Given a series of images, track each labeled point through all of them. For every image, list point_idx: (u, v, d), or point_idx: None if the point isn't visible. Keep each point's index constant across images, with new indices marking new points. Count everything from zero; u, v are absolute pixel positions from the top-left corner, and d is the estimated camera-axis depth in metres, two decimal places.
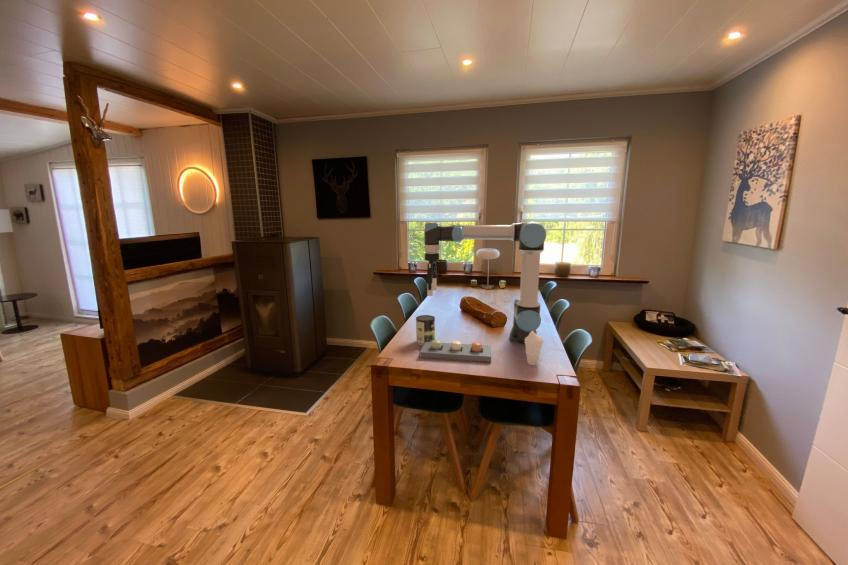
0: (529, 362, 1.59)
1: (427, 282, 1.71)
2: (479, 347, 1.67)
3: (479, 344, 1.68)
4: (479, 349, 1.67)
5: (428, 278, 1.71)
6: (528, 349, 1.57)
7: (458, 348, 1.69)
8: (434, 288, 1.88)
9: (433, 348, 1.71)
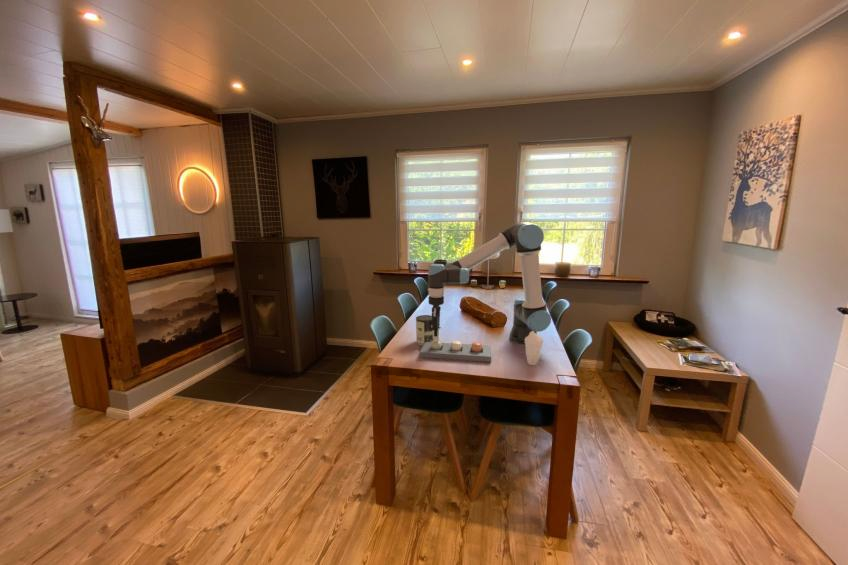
0: (529, 362, 1.59)
1: (433, 329, 1.67)
2: (479, 347, 1.67)
3: (479, 344, 1.68)
4: (479, 349, 1.67)
5: (434, 326, 1.67)
6: (528, 349, 1.57)
7: (458, 348, 1.69)
8: None
9: (433, 348, 1.71)
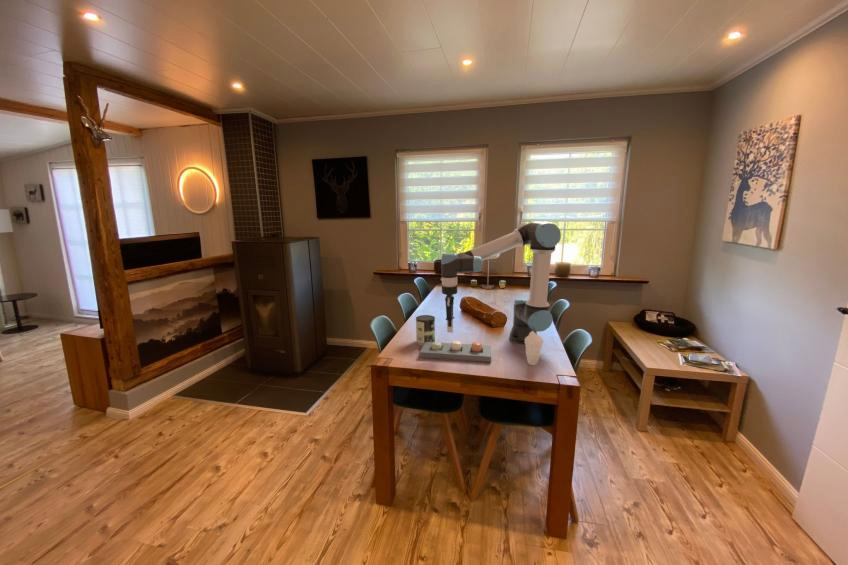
0: (529, 362, 1.59)
1: (447, 319, 1.65)
2: (479, 347, 1.67)
3: (479, 344, 1.68)
4: (479, 349, 1.67)
5: (448, 316, 1.65)
6: (528, 349, 1.57)
7: (458, 348, 1.69)
8: None
9: None
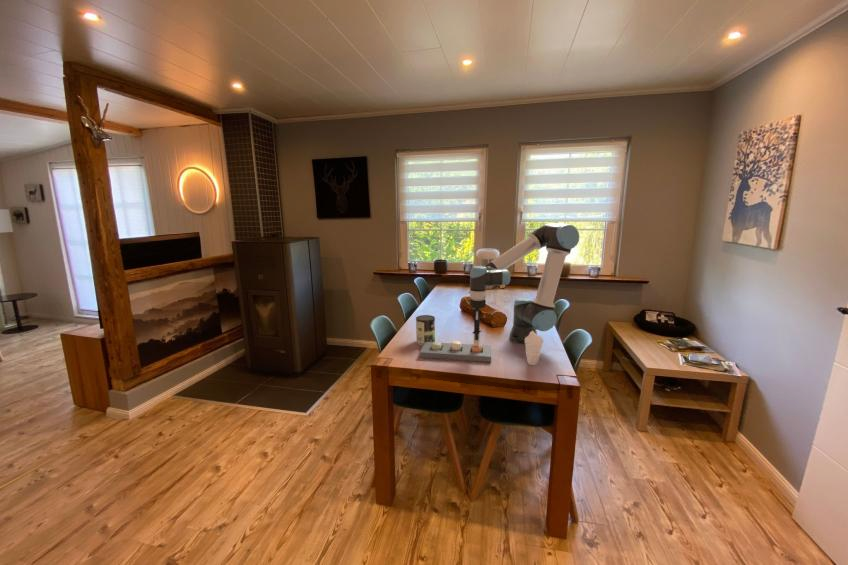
0: (529, 362, 1.59)
1: (475, 333, 1.64)
2: (479, 349, 1.67)
3: (479, 346, 1.68)
4: (479, 351, 1.67)
5: (476, 330, 1.63)
6: (528, 349, 1.57)
7: (458, 348, 1.69)
8: None
9: None
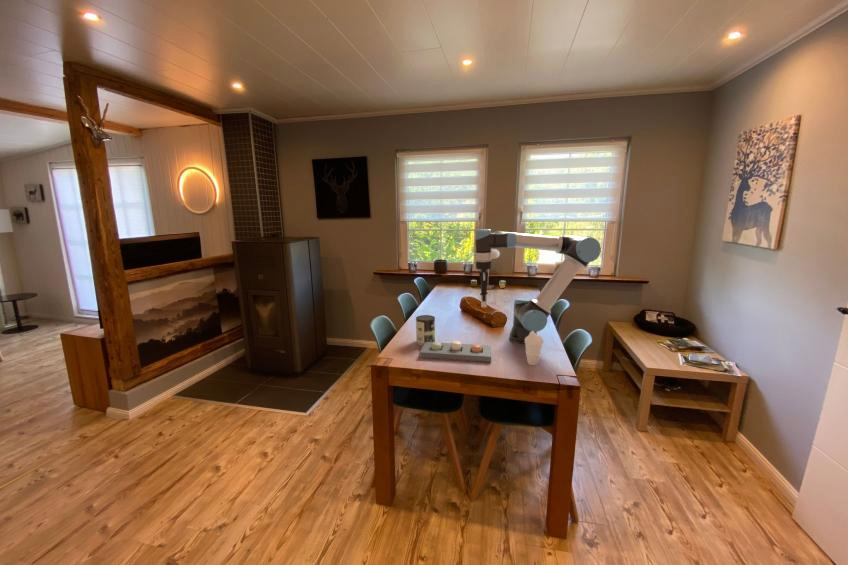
0: (529, 362, 1.59)
1: (482, 294, 1.70)
2: (479, 349, 1.67)
3: (479, 346, 1.68)
4: (479, 351, 1.67)
5: (483, 291, 1.69)
6: (528, 349, 1.57)
7: (458, 348, 1.69)
8: None
9: None
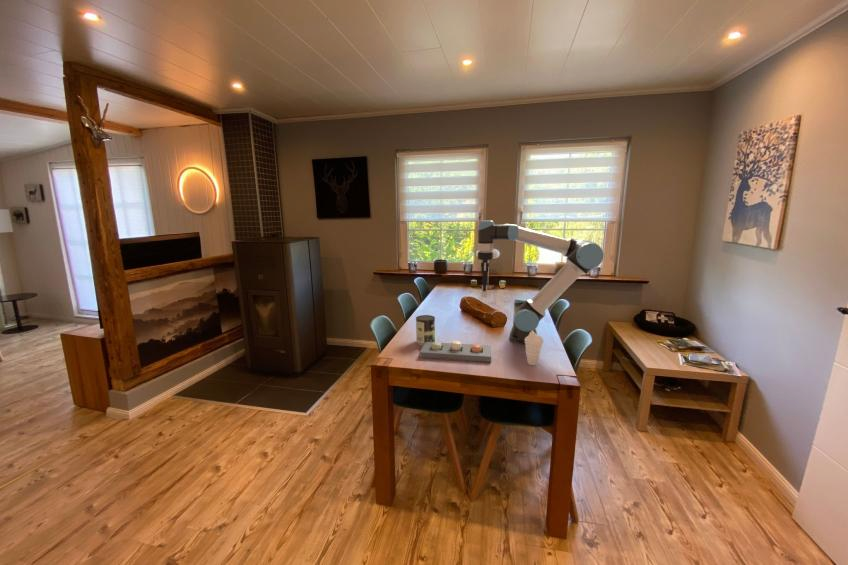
0: (529, 362, 1.59)
1: (483, 284, 1.74)
2: (479, 349, 1.67)
3: (479, 346, 1.68)
4: (479, 351, 1.67)
5: (483, 281, 1.73)
6: (528, 349, 1.57)
7: (458, 348, 1.69)
8: None
9: None
